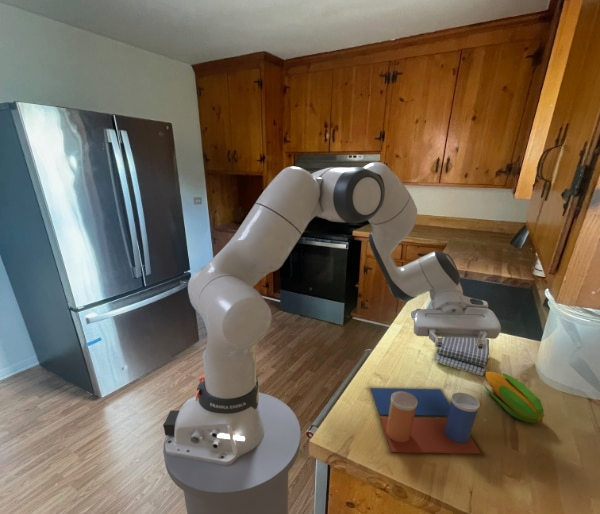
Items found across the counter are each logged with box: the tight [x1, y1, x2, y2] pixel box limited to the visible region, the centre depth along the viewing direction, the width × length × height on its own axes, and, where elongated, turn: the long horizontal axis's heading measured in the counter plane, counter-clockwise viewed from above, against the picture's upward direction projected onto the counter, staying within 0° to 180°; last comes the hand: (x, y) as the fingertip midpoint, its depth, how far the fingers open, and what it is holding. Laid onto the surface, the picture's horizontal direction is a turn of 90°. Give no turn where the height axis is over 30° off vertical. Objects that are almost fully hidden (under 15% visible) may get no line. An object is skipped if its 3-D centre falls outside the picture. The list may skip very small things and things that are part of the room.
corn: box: [482, 371, 545, 424], centre depth 88 cm, size 7×8×20 cm
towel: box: [435, 337, 490, 377], centre depth 110 cm, size 15×18×8 cm
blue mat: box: [370, 387, 451, 418], centre depth 89 cm, size 20×11×1 cm, turn 90°
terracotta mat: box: [380, 416, 482, 455], centre depth 78 cm, size 20×11×1 cm, turn 90°
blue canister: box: [444, 392, 481, 443], centre depth 76 cm, size 6×6×10 cm
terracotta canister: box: [386, 391, 418, 442], centre depth 76 cm, size 6×6×10 cm
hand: (459, 346), depth 79 cm, fingers open, 8 cm apart
